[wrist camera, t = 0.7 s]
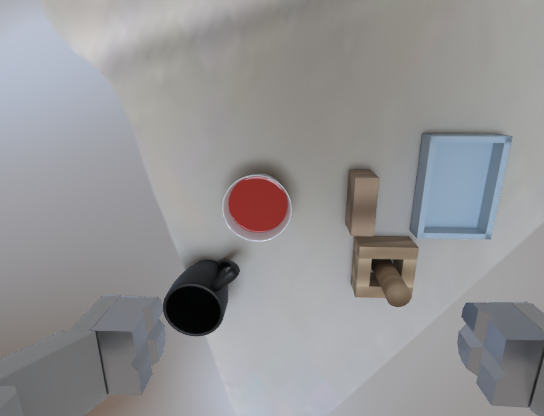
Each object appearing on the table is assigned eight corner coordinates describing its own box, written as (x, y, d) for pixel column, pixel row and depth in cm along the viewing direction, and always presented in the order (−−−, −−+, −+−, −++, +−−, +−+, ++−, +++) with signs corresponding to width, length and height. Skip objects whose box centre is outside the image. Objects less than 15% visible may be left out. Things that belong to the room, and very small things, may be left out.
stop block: (348, 169, 49) (355, 177, 44) (370, 169, 48) (379, 177, 44) (345, 222, 51) (351, 236, 46) (365, 223, 51) (373, 236, 46)
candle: (295, 220, 51) (296, 237, 45) (236, 228, 52) (229, 245, 46) (286, 161, 49) (286, 170, 43) (224, 170, 49) (215, 180, 43)
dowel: (370, 251, 52) (388, 285, 43) (390, 251, 52) (412, 286, 43) (368, 268, 53) (385, 306, 44) (388, 269, 53) (409, 307, 44)
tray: (422, 133, 47) (431, 136, 44) (498, 133, 46) (512, 136, 43) (409, 230, 51) (417, 238, 48) (479, 231, 50) (490, 239, 48)
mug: (262, 264, 54) (257, 298, 45) (208, 306, 57) (193, 346, 48) (226, 226, 52) (213, 254, 43) (172, 272, 55) (149, 307, 46)
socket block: (354, 235, 52) (359, 246, 48) (408, 236, 51) (418, 247, 47) (350, 282, 54) (355, 297, 50) (402, 284, 54) (411, 298, 50)
